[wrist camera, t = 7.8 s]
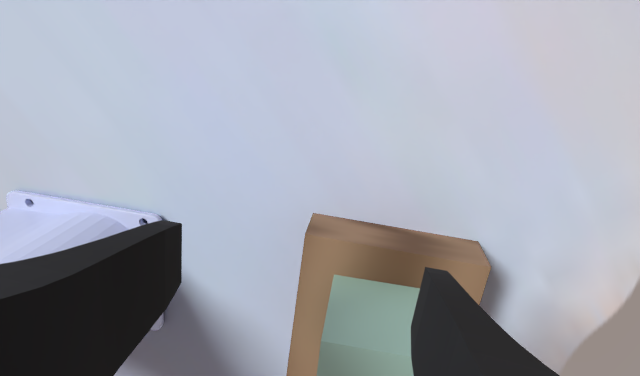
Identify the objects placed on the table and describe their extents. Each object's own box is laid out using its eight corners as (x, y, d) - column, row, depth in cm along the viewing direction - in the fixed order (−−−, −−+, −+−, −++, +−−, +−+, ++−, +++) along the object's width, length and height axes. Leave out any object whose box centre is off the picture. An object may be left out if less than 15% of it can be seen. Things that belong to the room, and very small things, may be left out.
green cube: (323, 354, 23) (309, 434, 18) (333, 274, 21) (321, 340, 16) (416, 370, 22) (425, 457, 18) (434, 290, 21) (450, 363, 16)
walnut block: (295, 341, 26) (286, 376, 24) (313, 211, 23) (305, 233, 21) (439, 369, 26) (446, 409, 23) (477, 239, 23) (491, 267, 20)
